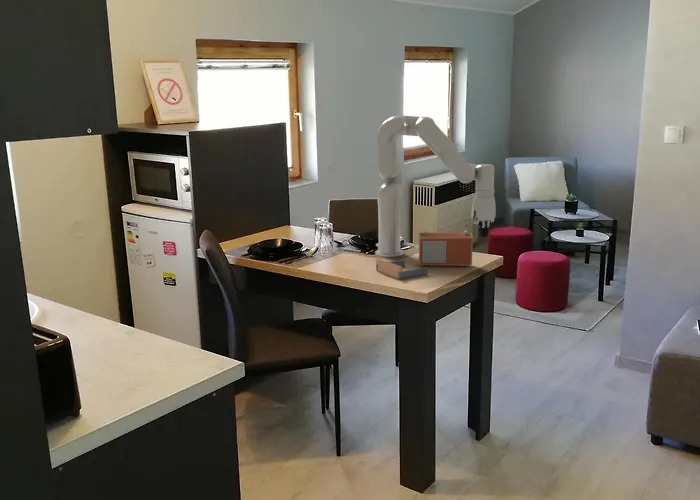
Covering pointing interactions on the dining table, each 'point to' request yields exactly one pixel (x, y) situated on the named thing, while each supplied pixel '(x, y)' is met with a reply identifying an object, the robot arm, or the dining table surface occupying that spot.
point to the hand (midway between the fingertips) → (483, 236)
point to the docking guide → (398, 269)
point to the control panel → (445, 248)
